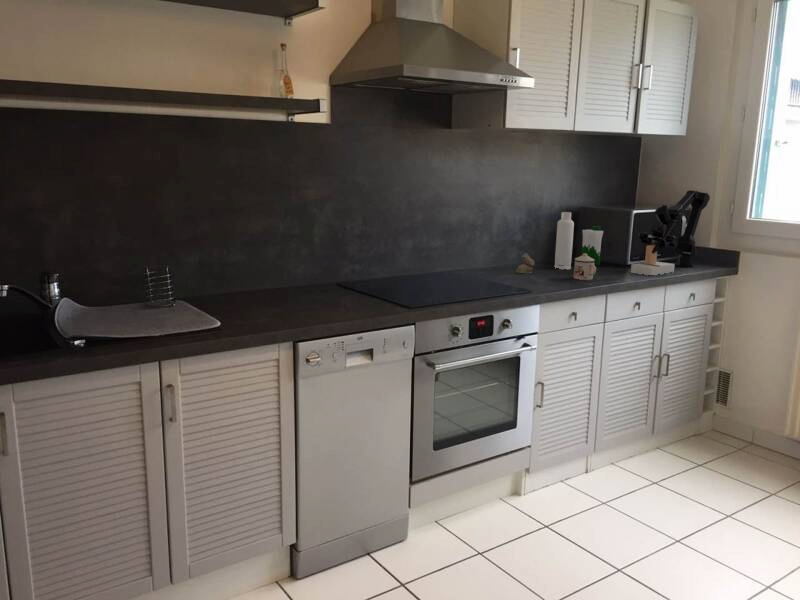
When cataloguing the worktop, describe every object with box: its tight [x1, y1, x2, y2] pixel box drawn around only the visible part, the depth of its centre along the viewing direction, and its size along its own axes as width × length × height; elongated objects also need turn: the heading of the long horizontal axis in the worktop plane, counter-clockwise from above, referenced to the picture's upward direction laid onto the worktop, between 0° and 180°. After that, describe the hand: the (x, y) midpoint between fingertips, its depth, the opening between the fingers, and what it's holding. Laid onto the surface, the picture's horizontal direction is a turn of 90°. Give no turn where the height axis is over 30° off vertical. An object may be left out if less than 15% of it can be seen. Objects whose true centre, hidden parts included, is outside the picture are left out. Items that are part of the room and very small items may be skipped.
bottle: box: [554, 211, 575, 270], centre depth 325 cm, size 8×8×28 cm
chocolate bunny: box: [515, 252, 535, 274], centre depth 311 cm, size 6×8×10 cm
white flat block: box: [630, 260, 676, 276], centre depth 320 cm, size 20×11×4 cm, turn 127°
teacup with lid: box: [573, 253, 597, 281], centre depth 298 cm, size 12×9×12 cm
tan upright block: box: [644, 244, 658, 264], centre depth 320 cm, size 6×2×11 cm, turn 127°
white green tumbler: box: [581, 225, 604, 266], centre depth 339 cm, size 9×9×20 cm
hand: (649, 252), depth 318 cm, fingers closed on tan upright block, 2 cm apart
